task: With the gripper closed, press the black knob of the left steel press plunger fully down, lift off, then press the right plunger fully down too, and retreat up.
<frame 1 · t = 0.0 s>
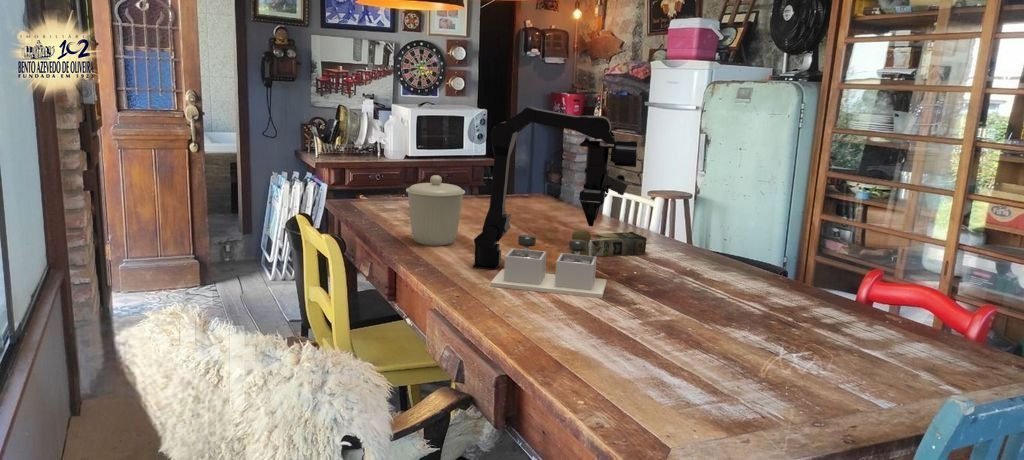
hand: (592, 223, 193), 15 cm above the table, fingers open, 9 cm apart
plunger b: (577, 252, 183), point 9 cm above the table, slide at 0.0 cm
canister: (434, 243, 227), on the table
juice carton: (610, 254, 226), on the table
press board: (549, 284, 186), on the table
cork: (579, 269, 204), on the table
plunger a: (526, 247, 186), point 9 cm above the table, slide at 0.0 cm
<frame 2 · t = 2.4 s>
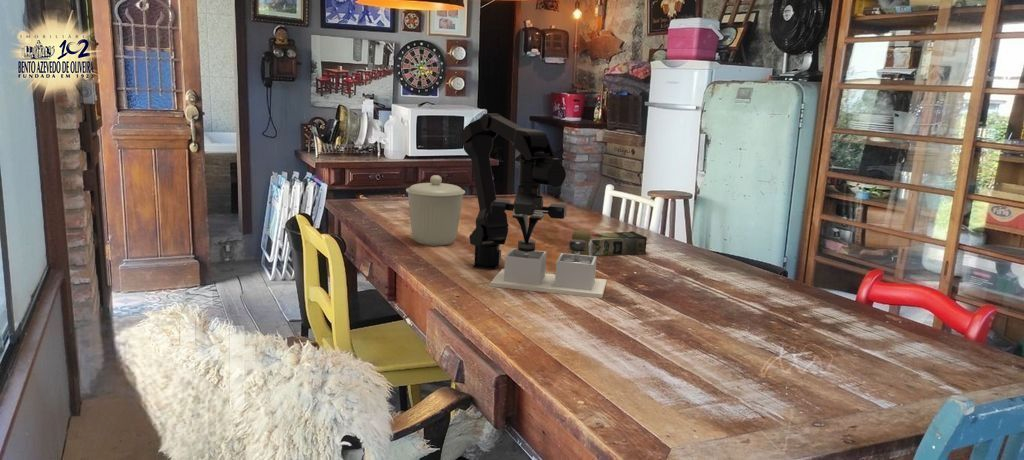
hand: (526, 241, 186), 11 cm above the table, fingers closed, pressing on plunger a
plunger a: (526, 252, 186), point 8 cm above the table, slide at 1.4 cm, touching gripper
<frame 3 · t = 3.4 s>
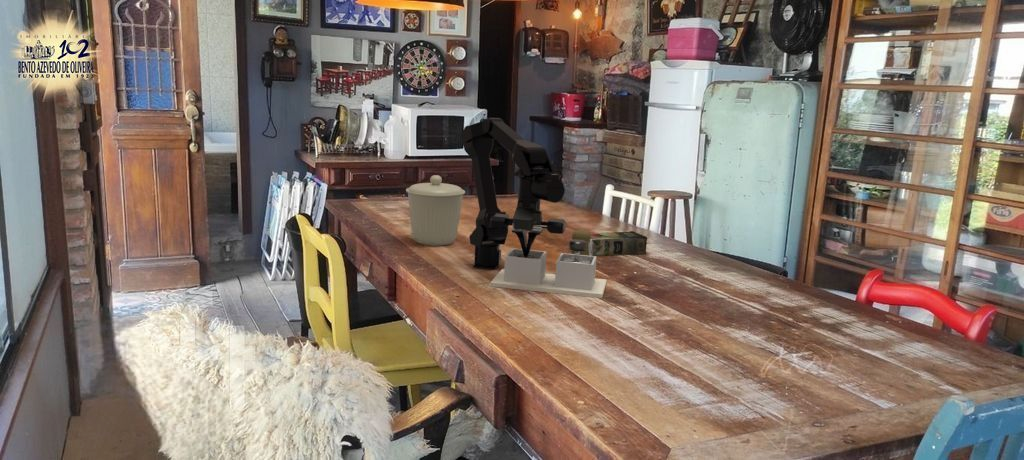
hand: (526, 256, 186), 7 cm above the table, fingers closed, pressing on plunger a
plunger a: (525, 266, 187), point 4 cm above the table, slide at 5.1 cm, touching gripper
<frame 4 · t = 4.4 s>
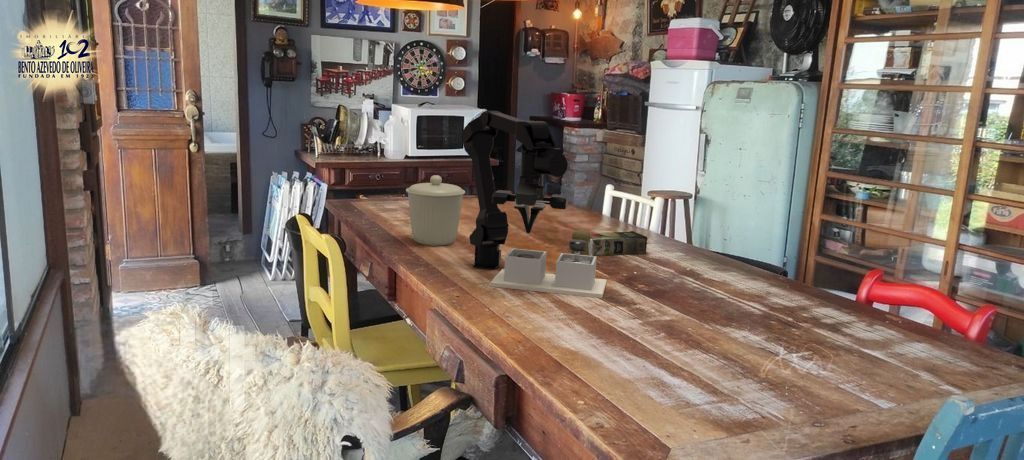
hand: (528, 233, 185), 13 cm above the table, fingers closed
plunger a: (525, 266, 187), point 4 cm above the table, slide at 5.1 cm
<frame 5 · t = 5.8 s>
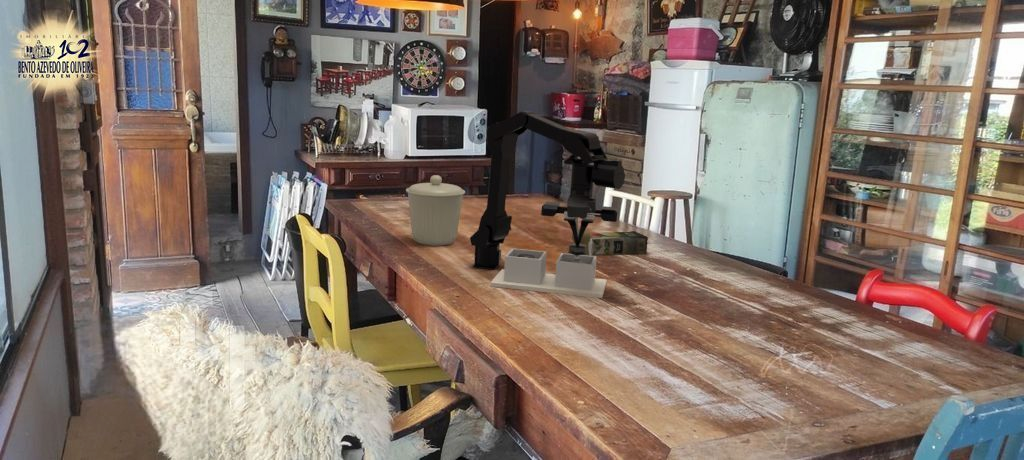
hand: (577, 245, 183), 11 cm above the table, fingers closed, pressing on plunger b
plunger b: (577, 256, 184), point 8 cm above the table, slide at 1.0 cm, touching gripper
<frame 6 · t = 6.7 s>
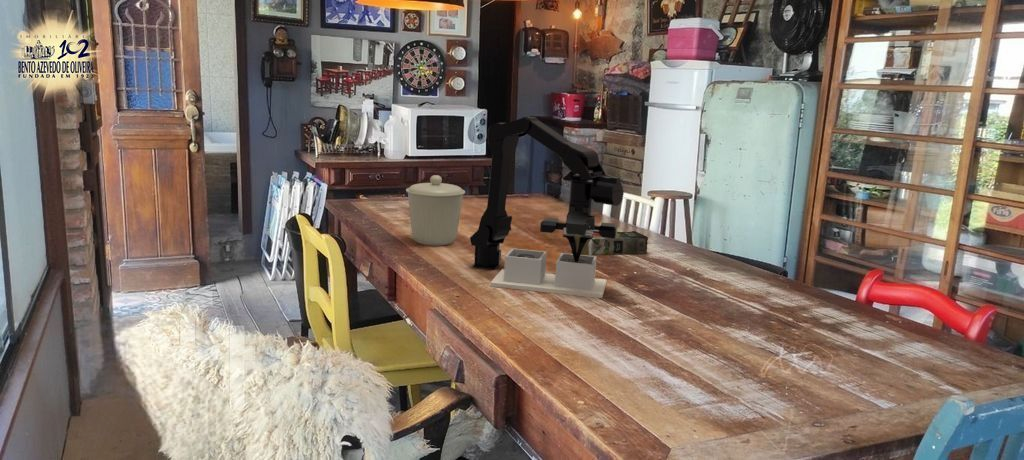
hand: (576, 261, 184), 7 cm above the table, fingers closed, pressing on plunger b
plunger b: (575, 271, 184), point 4 cm above the table, slide at 5.1 cm, touching gripper
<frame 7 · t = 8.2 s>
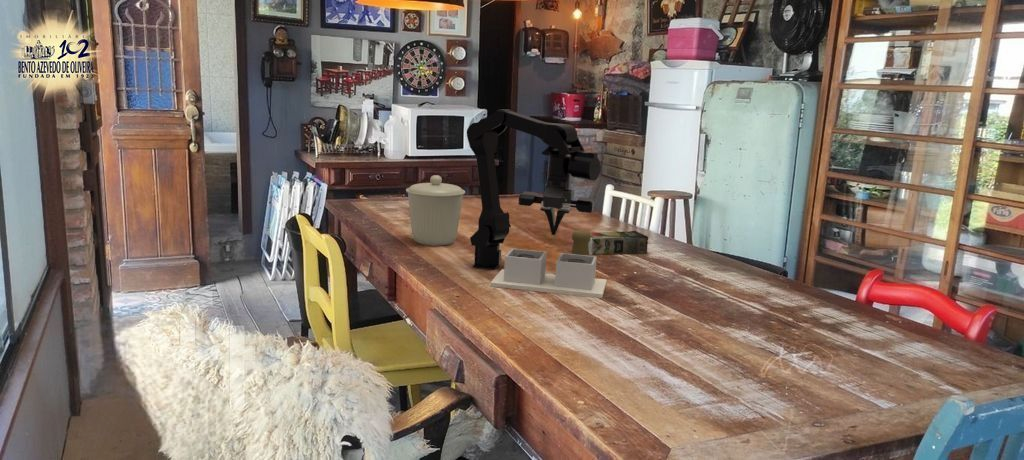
hand: (553, 234, 187), 12 cm above the table, fingers closed
plunger b: (575, 271, 184), point 4 cm above the table, slide at 5.1 cm
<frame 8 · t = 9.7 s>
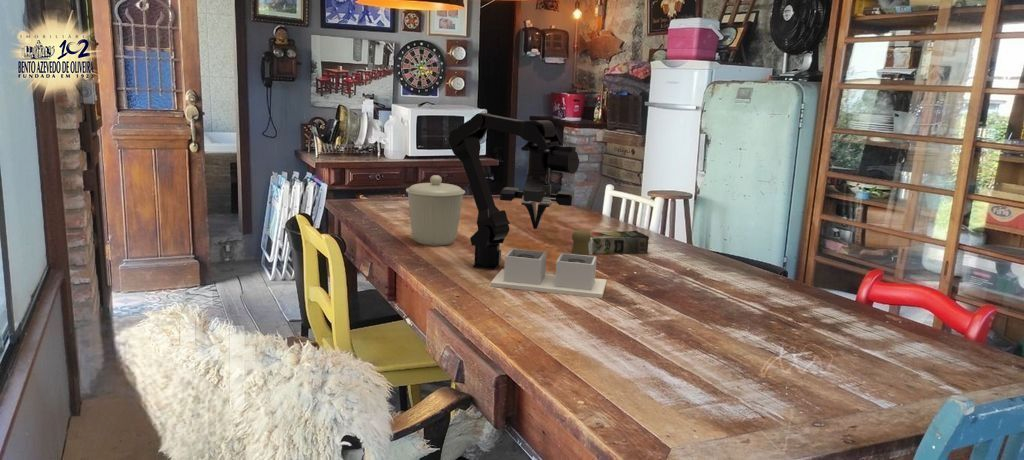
hand: (535, 228, 191), 13 cm above the table, fingers closed
at the end: plunger a slide at 5.1 cm; plunger b slide at 5.1 cm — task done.
